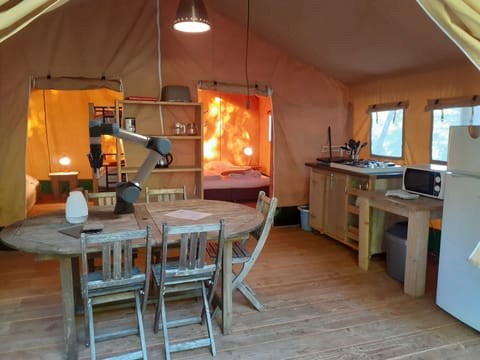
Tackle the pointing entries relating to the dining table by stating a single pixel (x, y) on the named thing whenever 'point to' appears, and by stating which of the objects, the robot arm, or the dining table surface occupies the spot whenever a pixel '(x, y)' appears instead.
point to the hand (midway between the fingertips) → (97, 178)
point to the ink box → (93, 227)
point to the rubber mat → (76, 231)
